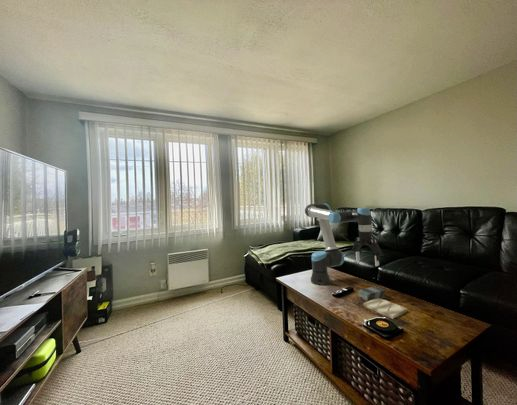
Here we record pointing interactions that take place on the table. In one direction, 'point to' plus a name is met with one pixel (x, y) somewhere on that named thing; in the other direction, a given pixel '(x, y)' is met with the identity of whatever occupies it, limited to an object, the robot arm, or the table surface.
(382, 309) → the board
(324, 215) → the robot arm
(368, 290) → the stone block
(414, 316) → the table surface
